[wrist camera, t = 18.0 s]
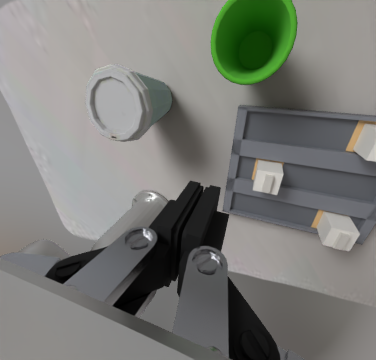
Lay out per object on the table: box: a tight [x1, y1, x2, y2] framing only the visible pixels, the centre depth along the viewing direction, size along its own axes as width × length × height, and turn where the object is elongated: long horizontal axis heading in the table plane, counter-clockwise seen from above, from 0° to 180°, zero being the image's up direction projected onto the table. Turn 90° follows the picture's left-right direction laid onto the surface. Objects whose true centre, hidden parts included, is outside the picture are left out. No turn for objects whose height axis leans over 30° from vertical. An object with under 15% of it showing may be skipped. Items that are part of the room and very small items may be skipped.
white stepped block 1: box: [253, 160, 283, 195], centre depth 34 cm, size 4×4×6 cm
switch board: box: [223, 105, 376, 244], centre depth 35 cm, size 22×26×2 cm
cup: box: [211, 0, 297, 85], centre depth 26 cm, size 9×9×11 cm
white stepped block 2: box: [316, 211, 360, 251], centre depth 34 cm, size 4×4×6 cm
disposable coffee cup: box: [85, 64, 172, 142], centre depth 32 cm, size 11×11×15 cm
